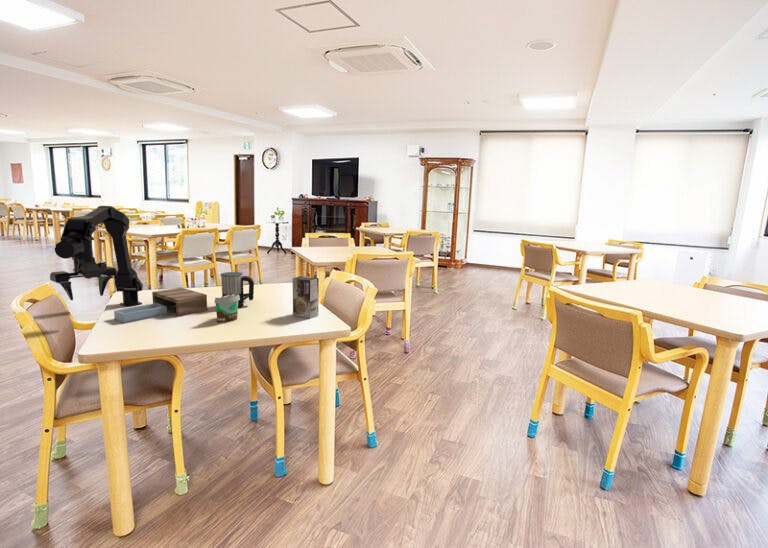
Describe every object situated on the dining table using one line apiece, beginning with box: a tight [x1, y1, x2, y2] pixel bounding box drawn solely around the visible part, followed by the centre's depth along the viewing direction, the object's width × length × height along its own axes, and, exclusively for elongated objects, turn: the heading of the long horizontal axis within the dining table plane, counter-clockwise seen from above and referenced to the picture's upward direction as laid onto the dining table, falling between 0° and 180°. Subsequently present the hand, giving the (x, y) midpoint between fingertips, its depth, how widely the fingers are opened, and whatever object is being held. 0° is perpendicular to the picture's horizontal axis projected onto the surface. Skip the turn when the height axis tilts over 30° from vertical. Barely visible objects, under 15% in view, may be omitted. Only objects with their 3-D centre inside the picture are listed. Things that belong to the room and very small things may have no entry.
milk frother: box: [219, 271, 255, 309], centre depth 190 cm, size 14×16×15 cm
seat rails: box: [165, 302, 176, 309], centre depth 180 cm, size 14×8×2 cm, turn 55°
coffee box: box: [292, 275, 320, 319], centre depth 176 cm, size 9×6×16 cm
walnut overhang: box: [151, 286, 208, 318], centre depth 178 cm, size 20×12×7 cm, turn 55°
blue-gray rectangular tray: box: [113, 302, 168, 324], centre depth 166 cm, size 8×16×4 cm, turn 145°
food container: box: [214, 292, 240, 323], centre depth 167 cm, size 12×6×10 cm, turn 168°
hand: (87, 297), depth 150 cm, fingers open, 9 cm apart
